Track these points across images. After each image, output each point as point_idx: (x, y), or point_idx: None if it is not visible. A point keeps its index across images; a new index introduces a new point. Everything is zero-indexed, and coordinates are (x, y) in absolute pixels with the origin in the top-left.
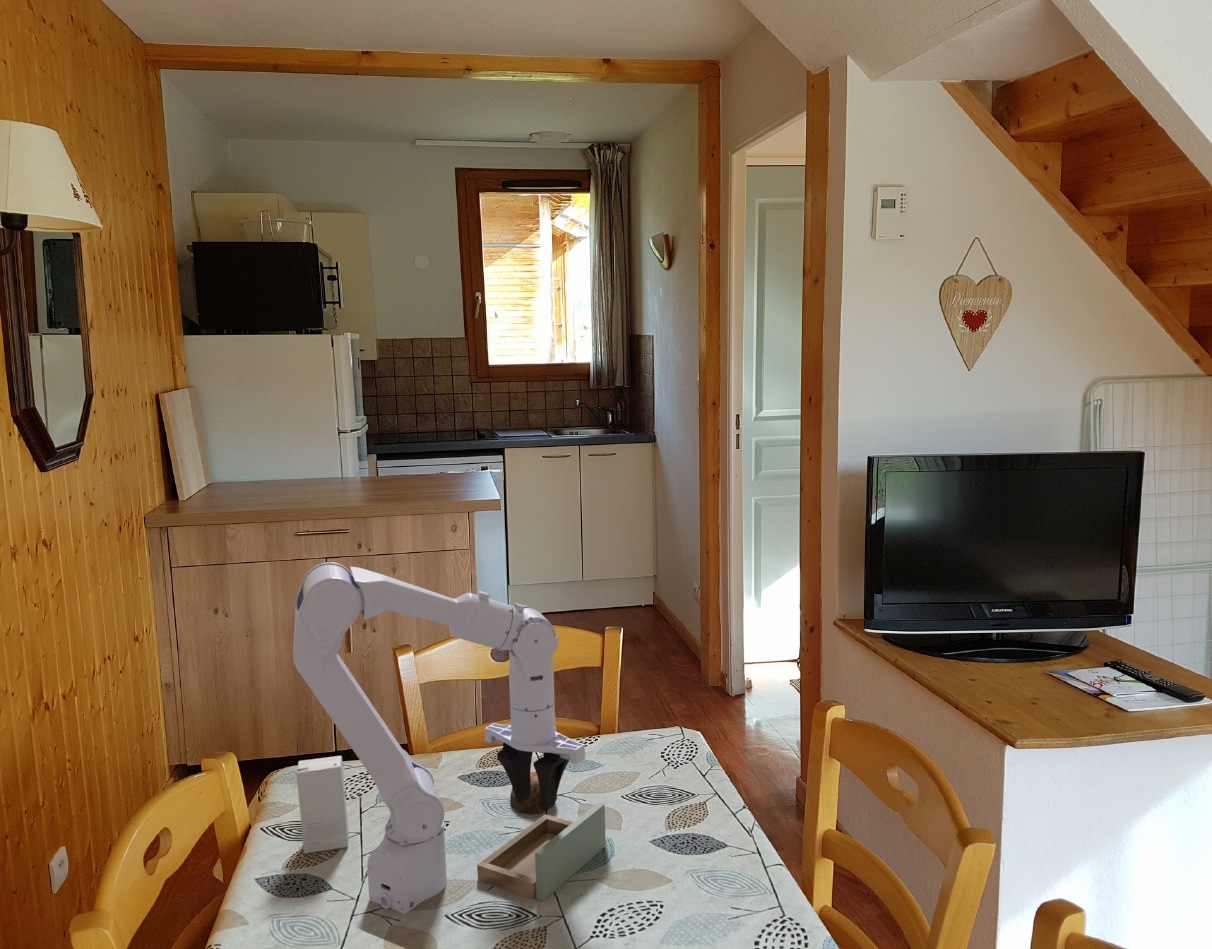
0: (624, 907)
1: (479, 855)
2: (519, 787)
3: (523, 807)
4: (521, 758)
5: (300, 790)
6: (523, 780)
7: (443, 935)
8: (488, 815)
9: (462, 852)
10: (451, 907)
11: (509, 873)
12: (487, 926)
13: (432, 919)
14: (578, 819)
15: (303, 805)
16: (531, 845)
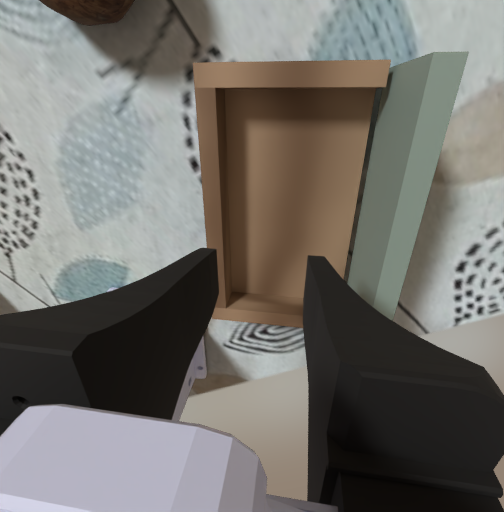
0: (500, 234)
1: (147, 204)
2: (201, 328)
3: (94, 21)
4: (146, 406)
5: None
6: (192, 315)
7: (251, 374)
8: (28, 47)
9: (116, 209)
10: (218, 331)
11: (281, 321)
12: (291, 347)
13: (216, 356)
14: (400, 212)
15: None
16: (228, 164)
